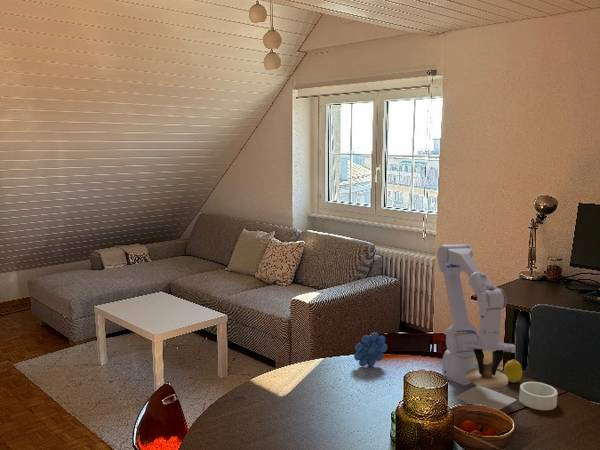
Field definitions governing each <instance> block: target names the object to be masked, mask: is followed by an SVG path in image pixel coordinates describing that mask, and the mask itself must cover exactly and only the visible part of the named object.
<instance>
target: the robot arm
mask: <svg viewBox="0 0 600 450" xmlns="http://www.w3.org/2000/svg"><path fill="white" fill-rule="evenodd" d="M436 258H437V262H438V263H437V264H438V267H439V272H441V273H442V274H443V278H444V285H445V289H446V294H447V295H446V296H447V300H448V301H447V302H448V307H449V310H450V312H449V313H450V317H451V321H452V322H451V323H452V324H451V325H450V326H449V327H448V328H447V329H446V330H445V345H446V350H445V351H444V353H443V355H442V369H441V371H442V372H441V375H442V374H443V375H445V376H446V377H447V378H448V380H450V381H453V382H455V383H457V384H460V385H462V386H467V385H469V384H472V383H471V382H469V381H468V380H467V379H466V372H467V371H468V370H470V369H475V359H476V362H477V365H478V366H477V367H478V368H479V373H480V375H482V374H483V362H484V360H485V359H484V358H485V354H484V351H487V352H492V362H491V363H493V372H492V375H495V374H496V371H498V368H499V365H500V364H501V363H502V362H501V361H502V360H503V359H504V358H505V352H507V353H511V354H512V353H513V354H514V353H516V346H515V344H514V343H506V342H500V337H501V324H502V323H501V322H502V321H501V320H502V309H503V310H504V309H505V308H506V305H507V296H506V293H505V291H504V290H503V289H502V288H499V287H498V286H495V285H494V283H493V282H492V281H491V280H490V278H489V277H488V276H487V274H486V273H485V272H484V271H480V270H479V268H478V266H477V265H476V263H475V261H474V258H473V249H472V248H471V245H469V244H468V243H462V244H458V243H457V244H441V245H439V246H438V249H437V252H436ZM462 272H464V273H465V274H466V275H467V276H468V278H469V279H468V284H469V286H470V287H471V289H472V291H473V292H474V293H475V295H476V296H477V297H476V298H477V299H476V301H477V305H478V314H479V316H480V317H479V332H478V327H477V326H475V325H474V324H473V323H471V322H470V321H469V316H468V311H467V307H466V301H465V295H464V291H463V286H462V285H463V284H462V279H461V273H462ZM445 376H444V377H445ZM447 378H446V379H447Z"/></svg>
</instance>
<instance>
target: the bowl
mask: <svg viewBox="0 0 600 450" xmlns="http://www.w3.org/2000/svg"><path fill="white" fill-rule="evenodd" d="M518 399H519V402H520V404H522V405H524V406H525V407H528V408H530V409H533V410H538V411H539V410H540V411H550V410H551V411H552V410H554V409H555V408H557V405H558V390H557V389H556V388H554V387H553V386H552V385H549V384H546V383H544V382H538V381H525V382H523V383H520V384H519V396H518Z"/></svg>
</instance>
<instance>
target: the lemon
mask: <svg viewBox="0 0 600 450" xmlns="http://www.w3.org/2000/svg"><path fill="white" fill-rule="evenodd" d="M503 374H505V375H506V376H507V377H508V382H509V383H513V384H514V383H517V382H519V381H520V380H521V379H522V376H523V367H522V364H521V363H520V362H519V361H517V360H516V359H511V360H507V362H505V364H504V367H503Z"/></svg>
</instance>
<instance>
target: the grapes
mask: <svg viewBox="0 0 600 450" xmlns="http://www.w3.org/2000/svg"><path fill="white" fill-rule="evenodd" d="M360 341H361V342H358V343H356V345H355V347H354V349H355V353H354V356H353V358H354V361H358V364H359V366H360V367H366V365H367V366H368V367H373V366H374V365H375V364H376V362H380V361H382V360H383V358H384V353H385V352H386V351H387V350H388V344H387V343H385V342H386V337H385V336H384V335H379V333H378V332H375V331H374V332H371V334H370V335H368V334H365V335H363V336H362V337H361V340H360Z"/></svg>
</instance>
